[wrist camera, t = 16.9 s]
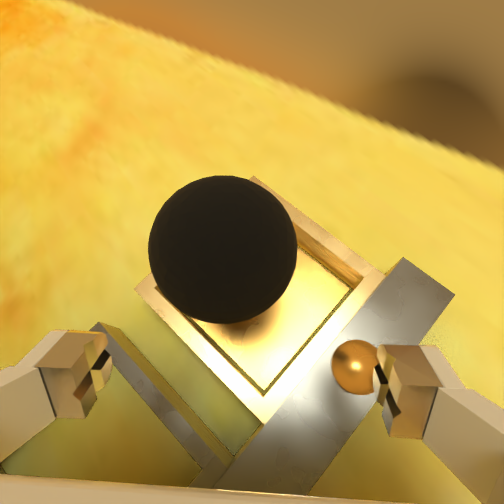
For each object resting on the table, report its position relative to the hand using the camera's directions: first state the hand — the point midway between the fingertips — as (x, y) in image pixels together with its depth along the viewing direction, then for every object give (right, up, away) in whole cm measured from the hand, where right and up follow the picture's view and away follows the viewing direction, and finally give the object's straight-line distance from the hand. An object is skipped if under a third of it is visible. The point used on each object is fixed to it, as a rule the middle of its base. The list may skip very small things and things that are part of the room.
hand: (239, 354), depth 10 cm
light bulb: (0, +1, +10) cm, 10 cm away
